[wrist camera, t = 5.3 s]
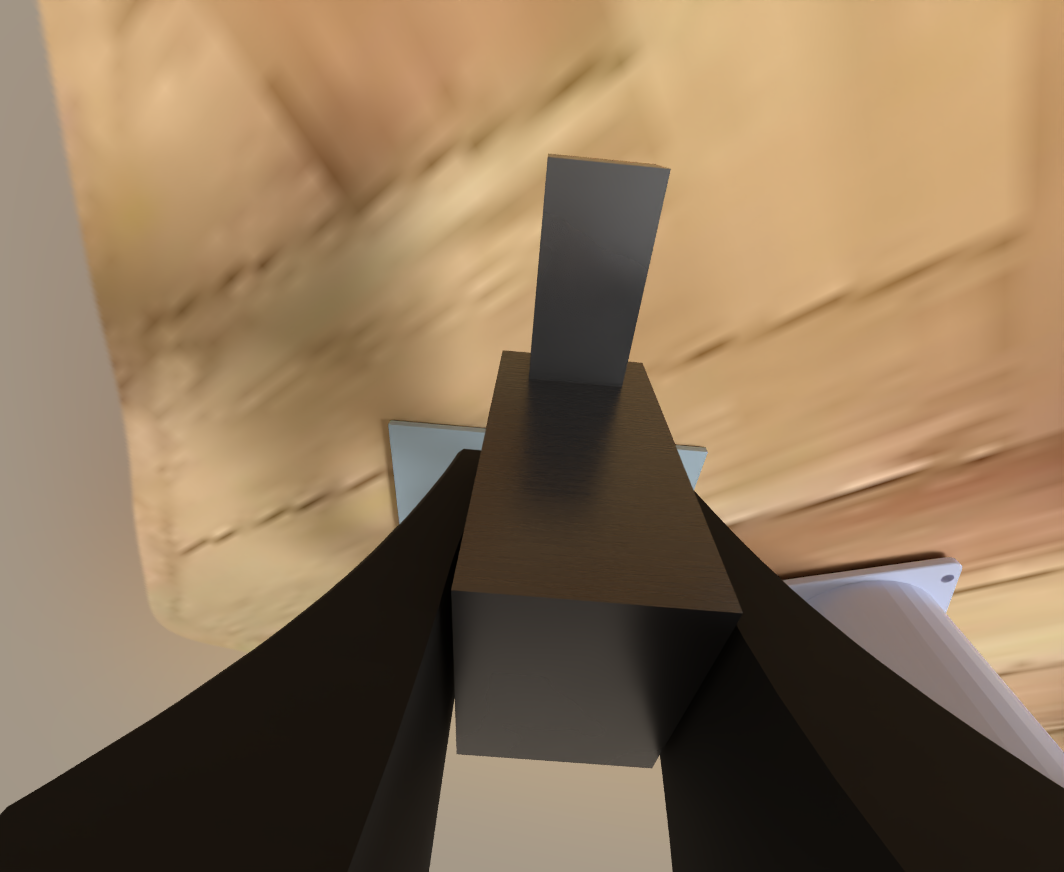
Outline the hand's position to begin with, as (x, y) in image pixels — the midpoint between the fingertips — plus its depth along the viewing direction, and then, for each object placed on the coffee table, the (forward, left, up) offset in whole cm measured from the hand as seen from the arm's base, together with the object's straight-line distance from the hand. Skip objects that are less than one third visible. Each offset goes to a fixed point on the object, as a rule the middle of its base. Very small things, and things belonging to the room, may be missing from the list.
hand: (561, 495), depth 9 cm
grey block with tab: (-2, +1, -2) cm, 3 cm away
